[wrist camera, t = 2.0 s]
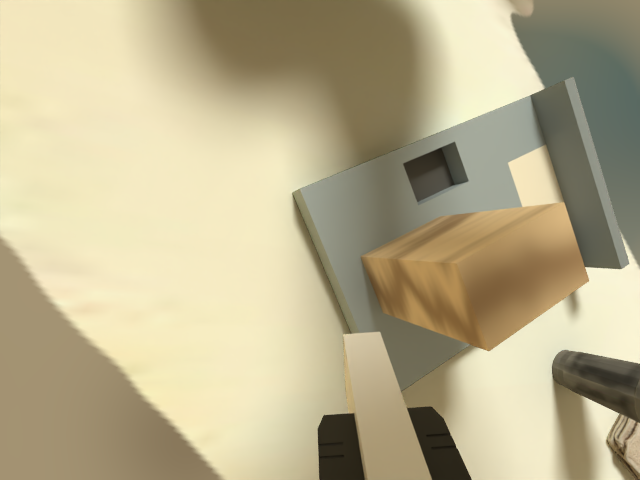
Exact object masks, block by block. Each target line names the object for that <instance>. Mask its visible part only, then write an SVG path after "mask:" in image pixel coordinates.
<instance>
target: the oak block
mask: <svg viewBox="0 0 640 480" xmlns="http://www.w3.org/2000/svg"><path fill="white" fill-rule="evenodd" d="M360 257H361V259H362V262H363V264H364V267H365V269H366V272H367V274H368V277H369V279H370V282H371V284H372V286H373V289H374V291H375V294H376V296H377V299H378V301H379V304H380V306H381V309H382V311H383V313H385V314H388V315H390V316H393V317H396V318H399V319H401V320H404V321H407V322H410V323H412V324H415V325H418V326H421V327H423V328H426V329H429V330H432V331H434V332H437V333H440V334H443V335H445V336H448V337H451V338H454V339H456V340H459V341H462V342H465V343H468V344H470V345H473V346H476V347H479V348H481V349H484V350H487V351H490V350H492V349H493V348H494V347H496V346H497V345H499V344H500V343H501V342H503V341H504V340H506V339H507V338H509V337H510V336H511V335H513V334H514V333H516V332H517V331H519V330H520V329H521V328H523V327H524V326H526V325H527V324H528V323H530V322H531V321H533V320H534V319H536V318H537V317H538V316H540V315H541V314H543V313H544V312H546V311H547V310H548V309H550V308H551V307H553V306H554V305H555V304H557V303H558V302H560V301H561V300H563V299H564V298H565V297H567V296H568V295H570V294H571V293H573V292H574V291H575V290H577V289H578V288H580V287H581V286H583V285H584V284H585V283H587V282H588V281H589V279H588V275H587V272H586V269H585V266H584V263H583V260H582V257H581V253H580V250H579V247H578V244H577V241H576V238H575V234H574V231H573V228H572V225H571V222H570V219H569V216H568V212H567V209H566V206H565V203H564V202H562V203H553V204H544V205H535V206H526V207H518V208H509V209H500V210H491V211H482V212H474V213H465V214H456V215H447V216H440V217H438V218H436V219H434V220H432V221H430V222H428V223H426V224H424V225H422V226H420V227H418V228H416V229H414V230H412V231H410V232H408V233H406V234H404V235H402V236H400V237H398V238H396V239H394V240H392V241H390V242H388V243H386V244H384V245H382V246H380V247H378V248H376V249H374V250H372V251H370V252H368V253H366V254H364V255H362V256H360Z"/></svg>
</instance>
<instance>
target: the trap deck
mask: <svg viewBox="0 0 640 480" xmlns="http://www.w3.org/2000/svg"><path fill="white" fill-rule="evenodd" d="M293 195H294V198H295V200H296V203H297V205H298V207H299V210H300V212H301V215H302V217H303V219H304V222H305V224H306V226H307V229H308V231H309V234H310V236H311V238H312V241H313V243H314V246H315V248H316V250H317V253H318V255H319V257H320V260H321V262H322V265H323V267H324V269H325V272H326V274H327V277H328V279H329V281H330V284H331V286H332V288H333V291H334V293H335V296H336V298H337V300H338V303H339V305H340V307H341V310H342V312H343V315H344V317H345V319H346V322H347V324H348V327H349V329H350V331H351V334H354V333H369V332H380V333H381V336H382V339H383V342H384V345H385V348H386V350H387V353H388V356H389V359H390V362H391V365H392V367H393V370H394V373H395V376H396V379H397V382H398V385H399V387H400V390H401V391H403V390H404V389H406V388H407V387H409V386H410V385H412V384H413V383H415V382H416V381H418V380H419V379H421V378H422V377H424V376H425V375H426V374H428V373H429V372H431V371H432V370H434V369H435V368H437V367H438V366H440V365H441V364H443V363H444V362H446V361H447V360H449V359H450V358H451V357H453V356H454V355H456V354H457V353H459V352H460V351H462V350H463V349H465V348H466V347H468V346H469V345H470V344H468V343H465V342H462V341H459V340H456V339H454V338H451V337H448V336H445V335H443V334H440V333H437V332H434V331H432V330H429V329H426V328H423V327H421V326H418V325H415V324H412V323H410V322H407V321H404V320H401V319H399V318H396V317H393V316H390V315H388V314H385V313H383V311H382V309H381V306H380V304H379V301H378V299H377V296H376V294H375V291H374V289H373V286H372V284H371V282H370V279H369V277H368V274H367V272H366V269H365V267H364V264H363V262H362V259H361V257H360V256H362V255H364V254H366V253H368V252H370V251H372V250H374V249H376V248H378V247H380V246H382V245H384V244H386V243H388V242H390V241H392V240H394V239H396V238H398V237H400V236H402V235H404V234H406V233H408V232H410V231H412V230H414V229H416V228H418V227H420V226H422V225H424V224H426V223H428V222H430V221H432V220H434V219H436V218H438V217H440V216H447V215H456V214H465V213H474V212H482V211H491V210H500V209H509V208H518V207H526V206H535V205H544V204H553V203H562V202H564V203H565V206H566V209H567V212H568V216H569V219H570V222H571V225H572V228H573V231H574V234H575V238H576V241H577V244H578V247H579V250H580V253H581V257H582V260H583V263H584V266H585V267H594V268H611V269H622V268H624V267H625V266H627V265H628V264H629V261H628V257H627V254H626V251H625V247H624V244H623V241H622V237H621V234H620V231H619V227H618V224H617V221H616V218H615V214H614V211H613V207H612V204H611V201H610V197H609V194H608V190H607V187H606V184H605V180H604V177H603V174H602V171H601V167H600V164H599V160H598V157H597V154H596V150H595V147H594V144H593V140H592V137H591V134H590V130H589V127H588V124H587V120H586V117H585V114H584V110H583V107H582V104H581V100H580V97H579V94H578V90H577V87H576V84H575V80H574V77H571V78H569V79H567V80H564V81H562V82H560V83H557V84H555V85H553V86H551V87H548V88H546V89H544V90H541V91H539V92H537V93H535V94H532V95H530V96H528V97H525V98H523V99H520V100H518V101H515V102H513V103H510V104H508V105H505V106H503V107H501V108H498V109H496V110H493V111H491V112H488V113H486V114H483V115H481V116H478V117H476V118H473V119H471V120H468V121H466V122H464V123H461V124H459V125H456V126H454V127H451V128H449V129H446V130H444V131H441V132H439V133H436V134H434V135H431V136H429V137H426V138H424V139H422V140H419V141H417V142H414V143H412V144H409V145H407V146H404V147H402V148H399V149H397V150H394V151H392V152H389V153H387V154H384V155H382V156H380V157H377V158H375V159H372V160H370V161H367V162H365V163H362V164H360V165H357V166H355V167H352V168H350V169H347V170H345V171H343V172H340V173H338V174H335V175H333V176H330V177H328V178H325V179H323V180H320V181H318V182H315V183H313V184H310V185H308V186H305V187H303V188H301V189H298V190H297V191H295V192H293Z"/></svg>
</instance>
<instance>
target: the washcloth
mask: <svg viewBox="0 0 640 480" xmlns="http://www.w3.org/2000/svg"><path fill="white" fill-rule="evenodd" d="M607 440H608V443H609V445H610V446H611V448H612V450H613V451H614V450H615V453H618V454H617V457H618V459H620V461H621V462H622V464H623V465H624V466H625V467H626V468H627V469H628V470H629V472H630V473H631V474H632V475H633V476H634V477H635V478H636V479H637V480H640V423H638V422H636V421H634V420H632V419H630V418H628V417H626V416H624V415H622V414H619V416H618V418H617V419H616V421H615V423H614V425H613V427H612V429H611V430H610V432H609V434H608V438H607ZM620 457H622V458H620Z"/></svg>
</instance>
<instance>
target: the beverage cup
mask: <svg viewBox="0 0 640 480" xmlns="http://www.w3.org/2000/svg"><path fill="white" fill-rule="evenodd" d="M552 373H553V377H554V379H555V380H556V382H557V383H559V384H560V385H563V386H565V387H567V388H569V389H570V390H572V391H574V392H576V393H578V394H580V395H582V396H584V397H586V398H588V399H590V400H592V401H595V402H597V403H599V404H601V405H603V406H605V407H607V408H609V409H611V410H613V411H615V412H618V413H620V414H622V415H624V416H626V417H628V418H630V419H632V420H634V421H636V422H638V423H640V364H638V363H633V362H628V361H623V360H618V359H613V358H607V357H602V356H597V355H592V354H587V353H582V352H574V351H568V350H563V351H561V352H559V353H558V354H557V356H556V357H555V359H554V361H553V366H552Z"/></svg>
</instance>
